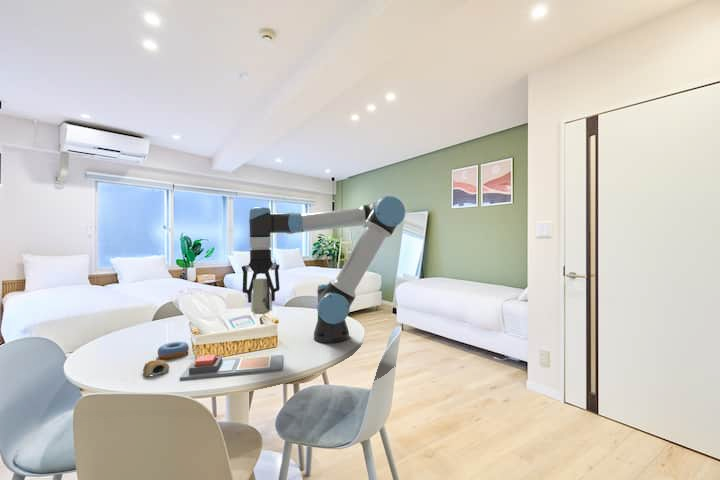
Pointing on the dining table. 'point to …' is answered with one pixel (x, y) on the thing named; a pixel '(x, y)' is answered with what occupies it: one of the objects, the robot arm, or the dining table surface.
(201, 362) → the button
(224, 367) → the picture board
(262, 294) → the box
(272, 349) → the dining table surface
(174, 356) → the doughnut
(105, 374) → the dining table surface
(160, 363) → the pastry
